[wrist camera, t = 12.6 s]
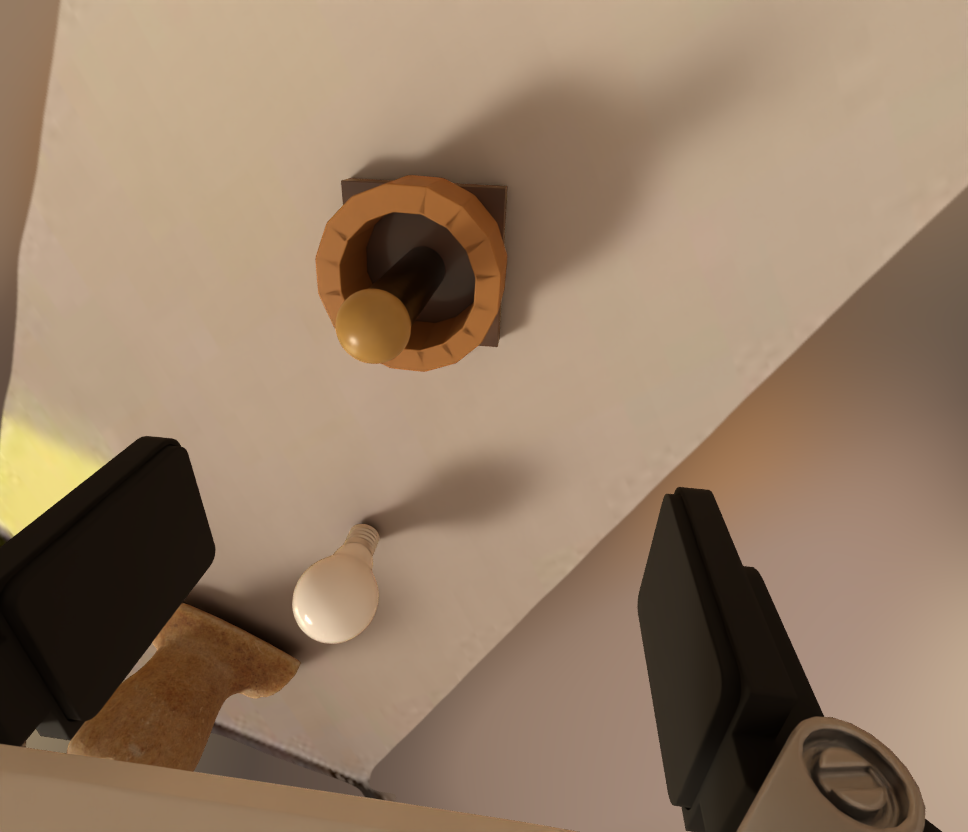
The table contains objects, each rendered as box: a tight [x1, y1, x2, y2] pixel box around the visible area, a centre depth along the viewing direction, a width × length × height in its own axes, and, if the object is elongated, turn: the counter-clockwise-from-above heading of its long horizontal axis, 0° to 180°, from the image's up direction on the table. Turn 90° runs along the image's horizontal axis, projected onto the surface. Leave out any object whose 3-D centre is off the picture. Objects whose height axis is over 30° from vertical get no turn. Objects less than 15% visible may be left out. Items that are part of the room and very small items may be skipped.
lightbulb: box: [292, 524, 379, 644], centre depth 43 cm, size 6×6×11 cm
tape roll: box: [316, 175, 507, 372], centre depth 32 cm, size 10×10×5 cm
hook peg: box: [336, 247, 445, 364], centre depth 29 cm, size 3×3×13 cm
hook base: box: [341, 178, 507, 347], centre depth 35 cm, size 10×10×2 cm
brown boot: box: [67, 603, 301, 772], centre depth 51 cm, size 15×12×15 cm
